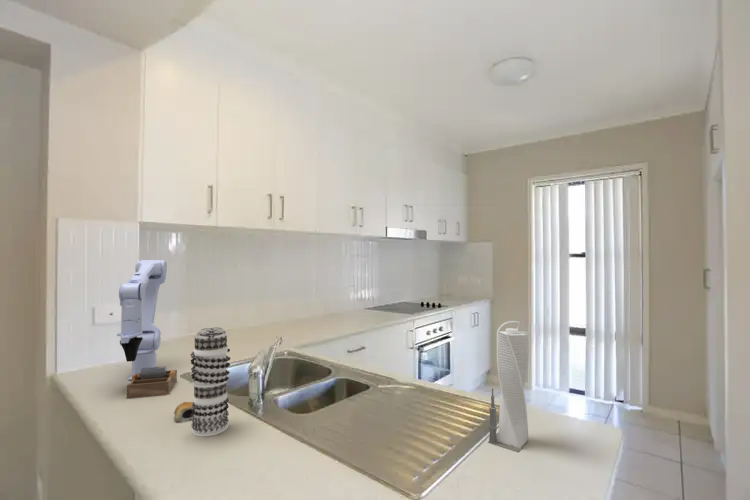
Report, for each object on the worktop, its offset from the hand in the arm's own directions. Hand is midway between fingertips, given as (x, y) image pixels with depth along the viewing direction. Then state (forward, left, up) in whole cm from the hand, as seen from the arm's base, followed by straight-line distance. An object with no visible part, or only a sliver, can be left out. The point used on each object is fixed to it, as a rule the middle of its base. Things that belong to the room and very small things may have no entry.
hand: (131, 360), depth 123 cm
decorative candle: (+39, +28, -10) cm, 49 cm away
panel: (+2, +7, -8) cm, 11 cm away
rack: (+2, +7, -9) cm, 12 cm away
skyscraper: (+68, +96, -10) cm, 118 cm away
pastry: (+28, +21, -10) cm, 37 cm away
